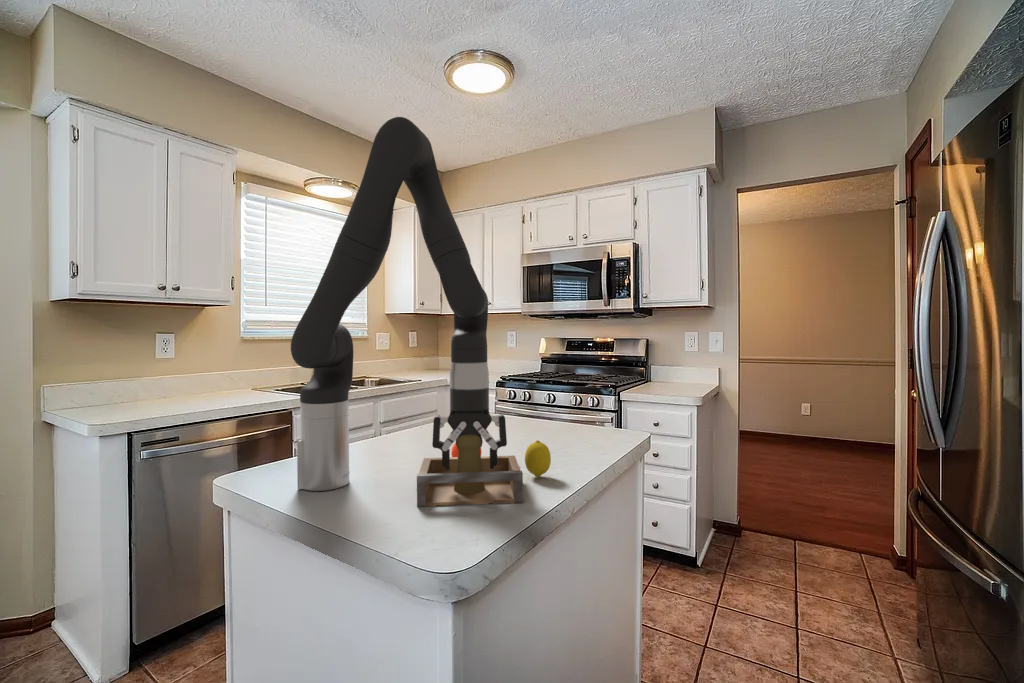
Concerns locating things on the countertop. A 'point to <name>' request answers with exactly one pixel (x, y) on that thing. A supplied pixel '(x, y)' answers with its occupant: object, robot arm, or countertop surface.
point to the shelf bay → (498, 482)
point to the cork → (469, 462)
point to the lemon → (537, 458)
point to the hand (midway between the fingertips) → (469, 468)
